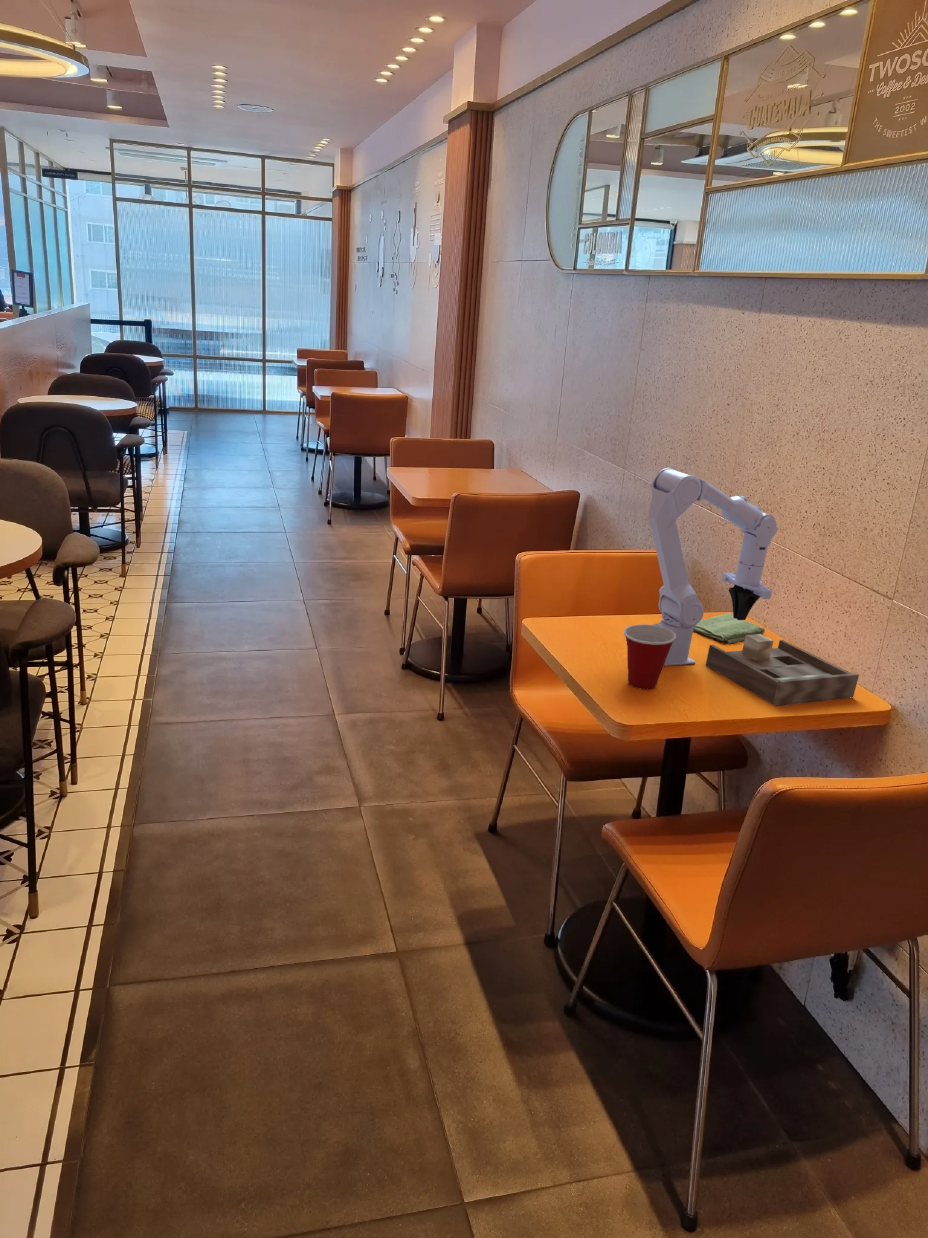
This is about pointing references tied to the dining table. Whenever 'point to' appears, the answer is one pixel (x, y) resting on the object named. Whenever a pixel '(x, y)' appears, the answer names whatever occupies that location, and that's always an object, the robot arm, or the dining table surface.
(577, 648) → the dining table surface
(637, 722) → the dining table surface
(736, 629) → the washcloth
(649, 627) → the plastic cup
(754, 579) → the robot arm
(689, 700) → the dining table surface
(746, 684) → the trap box
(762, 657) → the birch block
